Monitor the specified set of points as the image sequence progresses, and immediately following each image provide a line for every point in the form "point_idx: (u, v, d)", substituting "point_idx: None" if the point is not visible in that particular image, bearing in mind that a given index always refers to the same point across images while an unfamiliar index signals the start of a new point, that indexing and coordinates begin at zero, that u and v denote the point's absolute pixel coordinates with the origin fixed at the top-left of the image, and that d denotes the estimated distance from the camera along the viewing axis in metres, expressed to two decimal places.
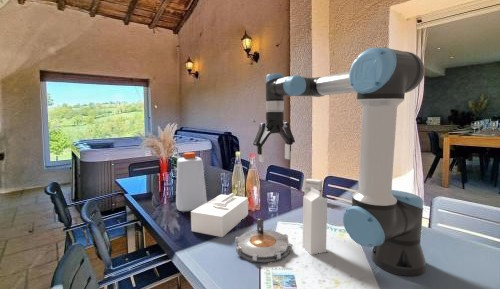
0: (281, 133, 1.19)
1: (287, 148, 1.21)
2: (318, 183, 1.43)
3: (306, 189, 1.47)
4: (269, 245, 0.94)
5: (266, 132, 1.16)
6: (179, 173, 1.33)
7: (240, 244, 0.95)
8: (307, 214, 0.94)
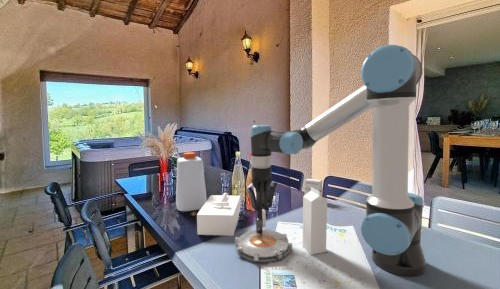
0: (264, 192, 1.04)
1: None
2: (318, 183, 1.43)
3: (306, 189, 1.47)
4: (269, 245, 0.94)
5: (257, 193, 1.04)
6: (179, 173, 1.33)
7: (240, 245, 0.95)
8: (307, 214, 0.94)
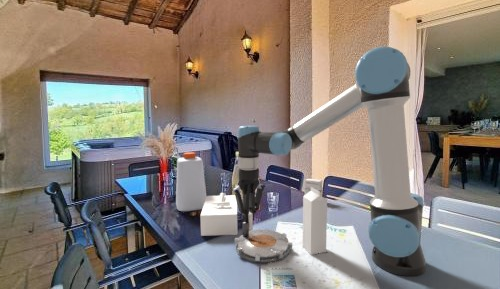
0: (251, 194, 1.01)
1: None
2: (318, 183, 1.43)
3: (306, 189, 1.47)
4: (274, 241, 0.97)
5: (244, 195, 1.01)
6: (179, 173, 1.33)
7: (254, 251, 0.90)
8: (307, 214, 0.94)
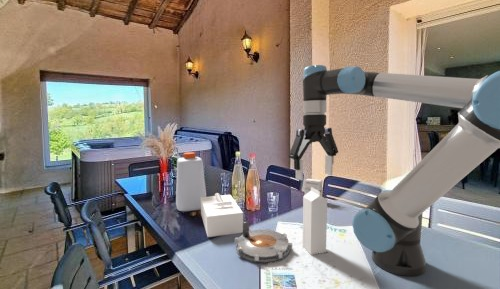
0: (322, 142, 0.93)
1: (329, 160, 0.96)
2: (318, 183, 1.43)
3: (306, 189, 1.47)
4: (274, 241, 0.97)
5: (304, 141, 0.90)
6: (179, 173, 1.33)
7: (254, 251, 0.90)
8: (307, 214, 0.94)
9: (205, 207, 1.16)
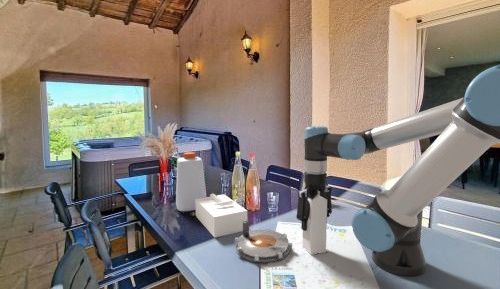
0: None
1: None
2: None
3: None
4: (274, 241, 0.97)
5: (307, 200, 0.93)
6: (179, 173, 1.33)
7: (254, 251, 0.90)
8: None
9: (206, 208, 1.15)
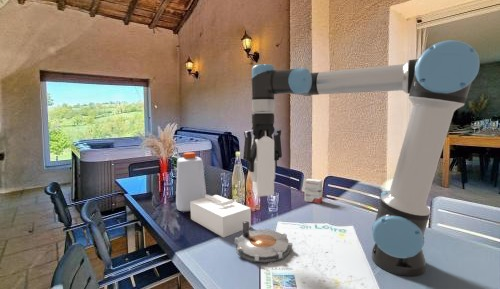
0: None
1: None
2: (318, 183, 1.43)
3: (306, 189, 1.47)
4: (274, 241, 0.97)
5: None
6: (179, 173, 1.33)
7: (254, 251, 0.90)
8: None
9: (209, 209, 1.14)
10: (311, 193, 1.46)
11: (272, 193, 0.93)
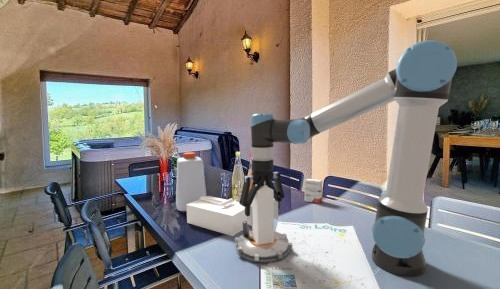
0: (269, 186, 0.96)
1: (275, 205, 0.98)
2: (318, 183, 1.43)
3: (306, 189, 1.47)
4: (274, 241, 0.97)
5: (253, 186, 0.93)
6: (179, 173, 1.33)
7: (254, 251, 0.90)
8: (255, 204, 0.95)
9: (212, 210, 1.13)
10: (311, 193, 1.46)
11: (272, 241, 0.95)
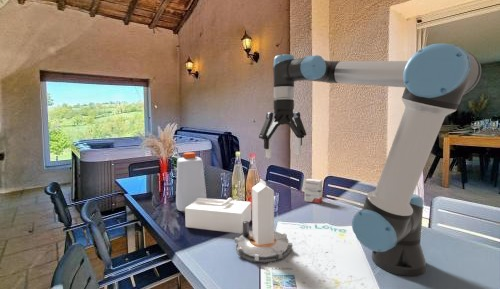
0: (291, 125, 1.03)
1: (297, 142, 1.05)
2: (318, 183, 1.43)
3: (306, 189, 1.47)
4: (274, 241, 0.97)
5: (274, 123, 1.00)
6: (179, 173, 1.33)
7: (254, 251, 0.90)
8: (255, 205, 0.94)
9: (217, 210, 1.12)
10: (311, 193, 1.46)
11: (272, 241, 0.95)
